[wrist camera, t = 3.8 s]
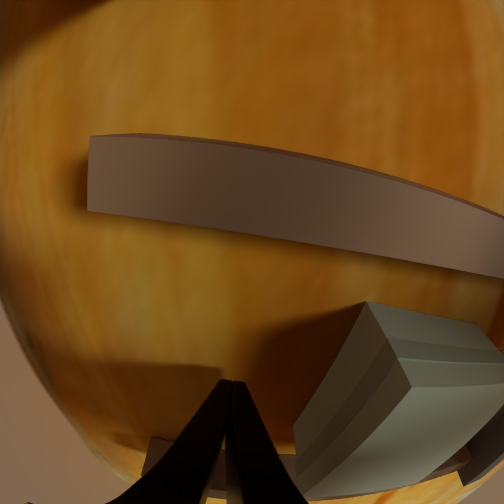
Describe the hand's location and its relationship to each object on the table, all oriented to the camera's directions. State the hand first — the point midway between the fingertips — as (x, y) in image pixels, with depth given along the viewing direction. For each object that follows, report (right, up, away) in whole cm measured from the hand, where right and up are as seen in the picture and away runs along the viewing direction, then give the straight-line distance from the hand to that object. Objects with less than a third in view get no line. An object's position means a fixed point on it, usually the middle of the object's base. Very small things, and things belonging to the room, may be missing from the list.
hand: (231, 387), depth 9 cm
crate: (+6, -1, +1) cm, 6 cm away
